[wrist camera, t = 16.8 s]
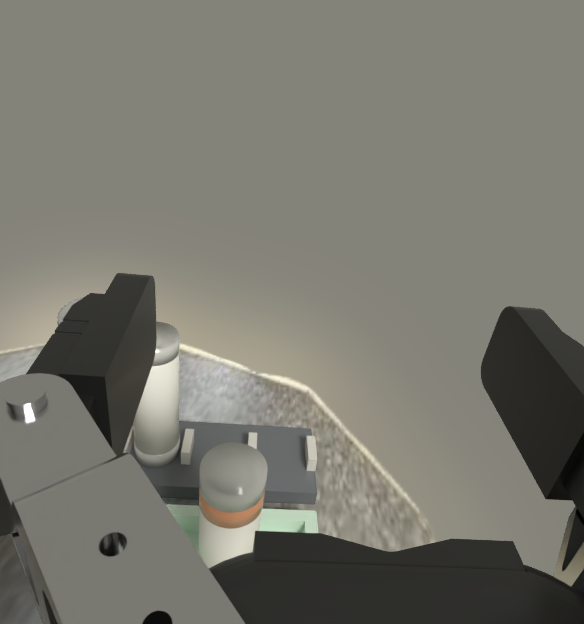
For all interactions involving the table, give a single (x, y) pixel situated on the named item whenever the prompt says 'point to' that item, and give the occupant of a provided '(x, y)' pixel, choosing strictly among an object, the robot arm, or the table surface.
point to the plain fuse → (160, 404)
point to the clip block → (267, 440)
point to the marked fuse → (230, 501)
